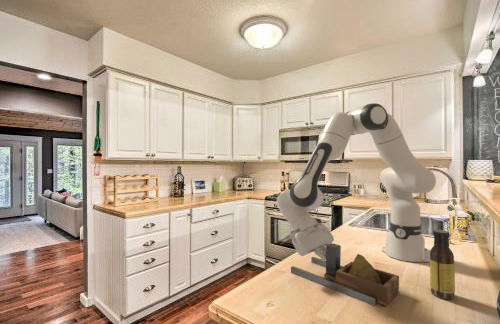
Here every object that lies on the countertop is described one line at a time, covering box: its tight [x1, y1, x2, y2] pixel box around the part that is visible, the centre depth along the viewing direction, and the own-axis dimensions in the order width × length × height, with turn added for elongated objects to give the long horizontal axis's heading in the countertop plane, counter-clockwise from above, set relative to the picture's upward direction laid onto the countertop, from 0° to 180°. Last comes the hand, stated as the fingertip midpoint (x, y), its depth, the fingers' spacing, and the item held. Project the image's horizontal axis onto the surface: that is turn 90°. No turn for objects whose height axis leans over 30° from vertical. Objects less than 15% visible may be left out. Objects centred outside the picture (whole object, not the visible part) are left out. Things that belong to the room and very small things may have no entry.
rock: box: [348, 253, 383, 285], centre depth 85 cm, size 11×9×10 cm
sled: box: [324, 242, 400, 306], centre depth 86 cm, size 11×21×11 cm, turn 44°
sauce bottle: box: [429, 229, 456, 300], centre depth 80 cm, size 6×6×20 cm
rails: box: [290, 256, 378, 306], centre depth 90 cm, size 15×30×2 cm, turn 44°
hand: (327, 259), depth 94 cm, fingers closed, pressing on sled
